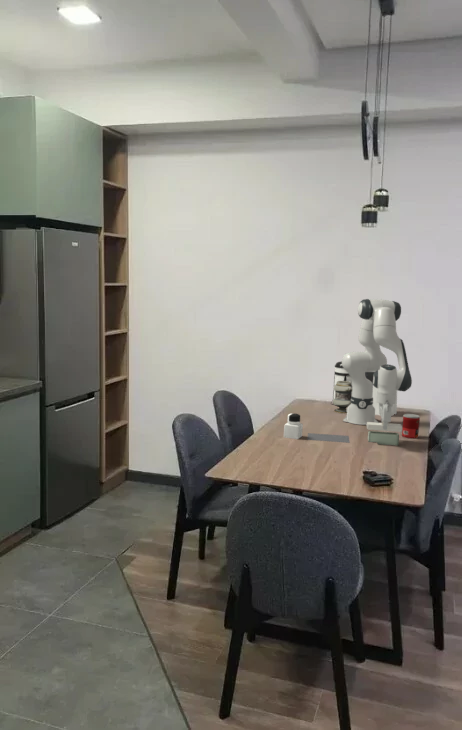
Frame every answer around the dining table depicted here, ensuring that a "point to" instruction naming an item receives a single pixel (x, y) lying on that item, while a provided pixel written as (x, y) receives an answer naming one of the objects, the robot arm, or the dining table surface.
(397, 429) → the lid
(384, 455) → the dining table surface
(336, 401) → the apothecary jar
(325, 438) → the mat
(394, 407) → the milk
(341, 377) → the coffee press
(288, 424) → the medicine bottle
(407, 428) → the canned food
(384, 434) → the pale green open box
